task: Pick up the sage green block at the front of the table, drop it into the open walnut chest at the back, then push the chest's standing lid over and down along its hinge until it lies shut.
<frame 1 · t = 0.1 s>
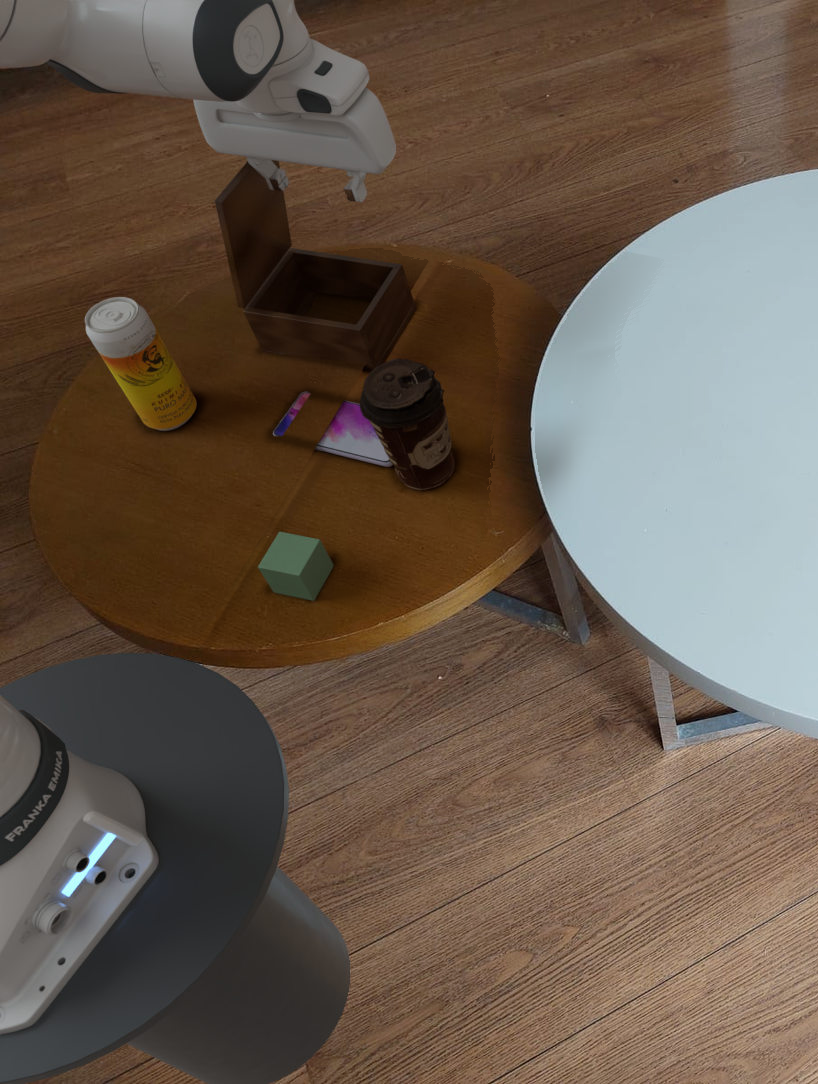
hand: (319, 193, 118), 19 cm above the table, tool pointing down, fingers open, 8 cm apart
lid: (256, 224, 122), point 15 cm above the table, hinge at 76.3°, touching gripper
coffee cup: (428, 469, 120), on the table
beer can: (172, 415, 126), on the table
block: (304, 579, 111), on the table
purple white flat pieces: (347, 432, 123), on the table
chest: (341, 331, 133), on the table
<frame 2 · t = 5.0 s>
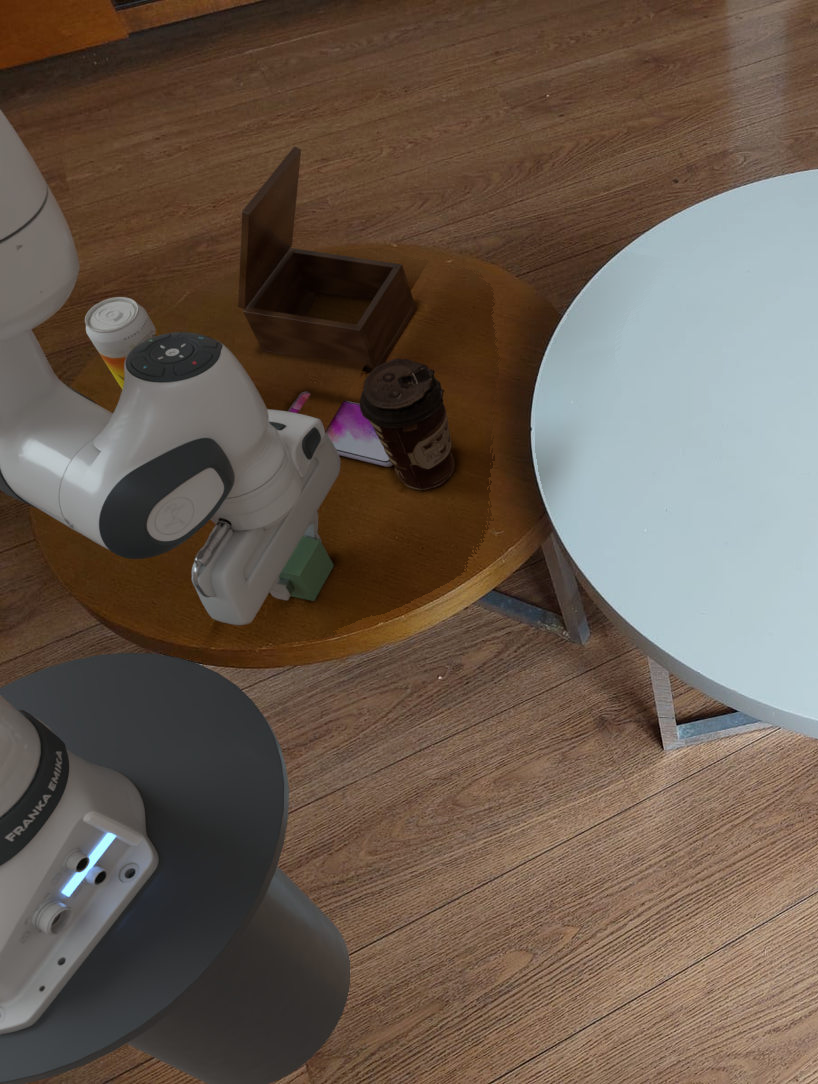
hand: (298, 569, 110), 2 cm above the table, tool pointing down, fingers closed on block, 4 cm apart
lid: (268, 229, 122), point 14 cm above the table, hinge at 65.5°
block: (304, 579, 111), on the table, touching gripper
everything else where it was.
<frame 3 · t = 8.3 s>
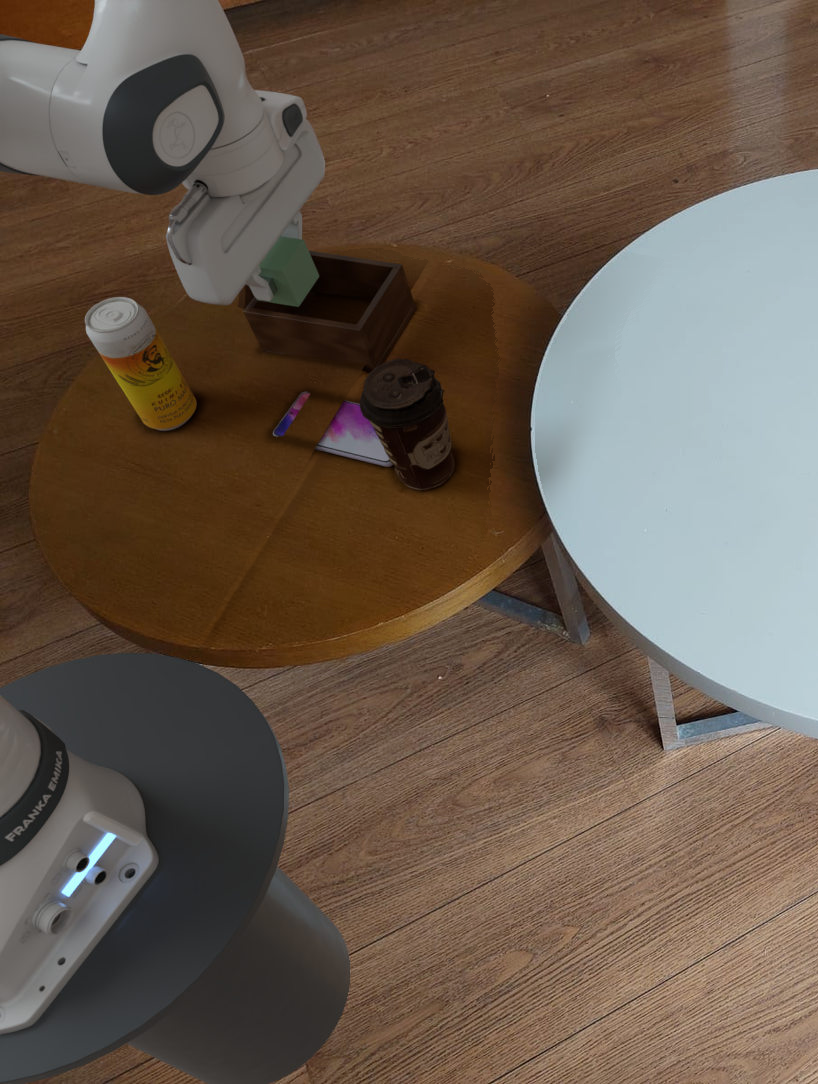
hand: (282, 275, 106), 22 cm above the table, tool pointing down, fingers closed on block, 4 cm apart
block: (288, 288, 107), point 20 cm above the table, touching gripper
everything else where it was.
when the fingers open (9 cm above the table, at t = 12.0 s): block drops 4 cm and tips over, resting on chest.
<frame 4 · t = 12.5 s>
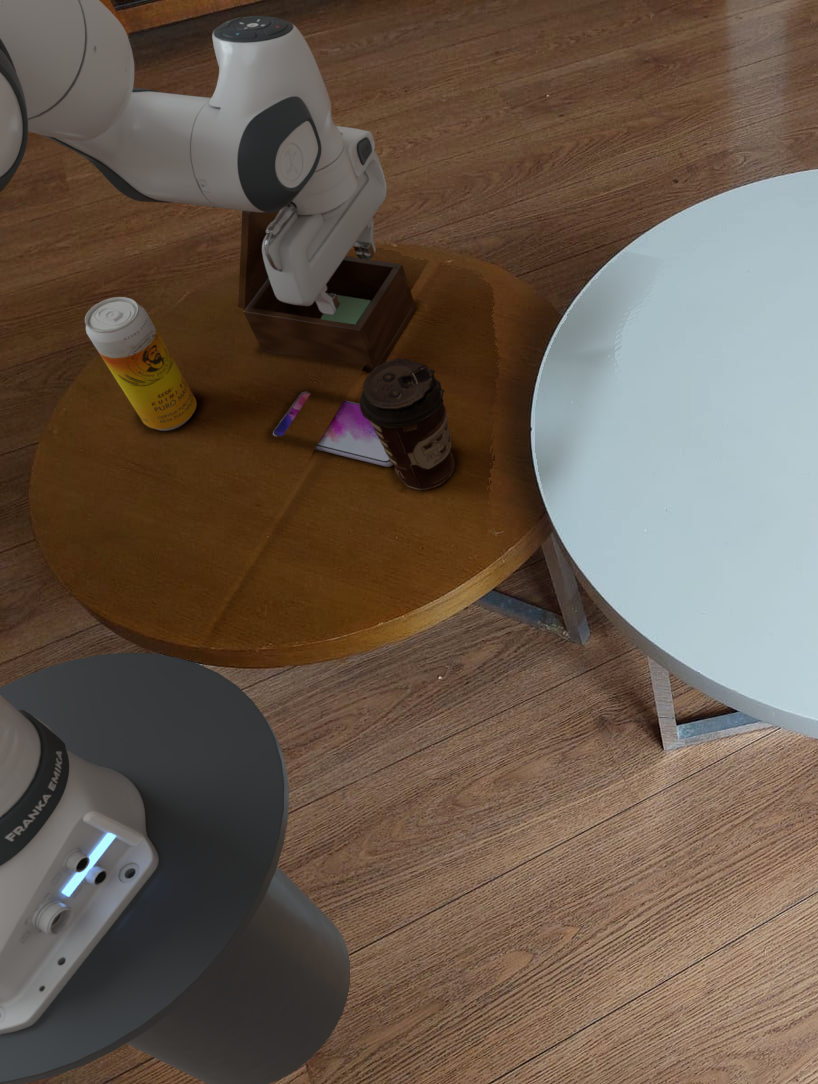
hand: (349, 282, 124), 10 cm above the table, tool pointing down, fingers open, 8 cm apart
block: (368, 327, 129), point 3 cm above the table, tilted 90°, touching chest
everything else where it was.
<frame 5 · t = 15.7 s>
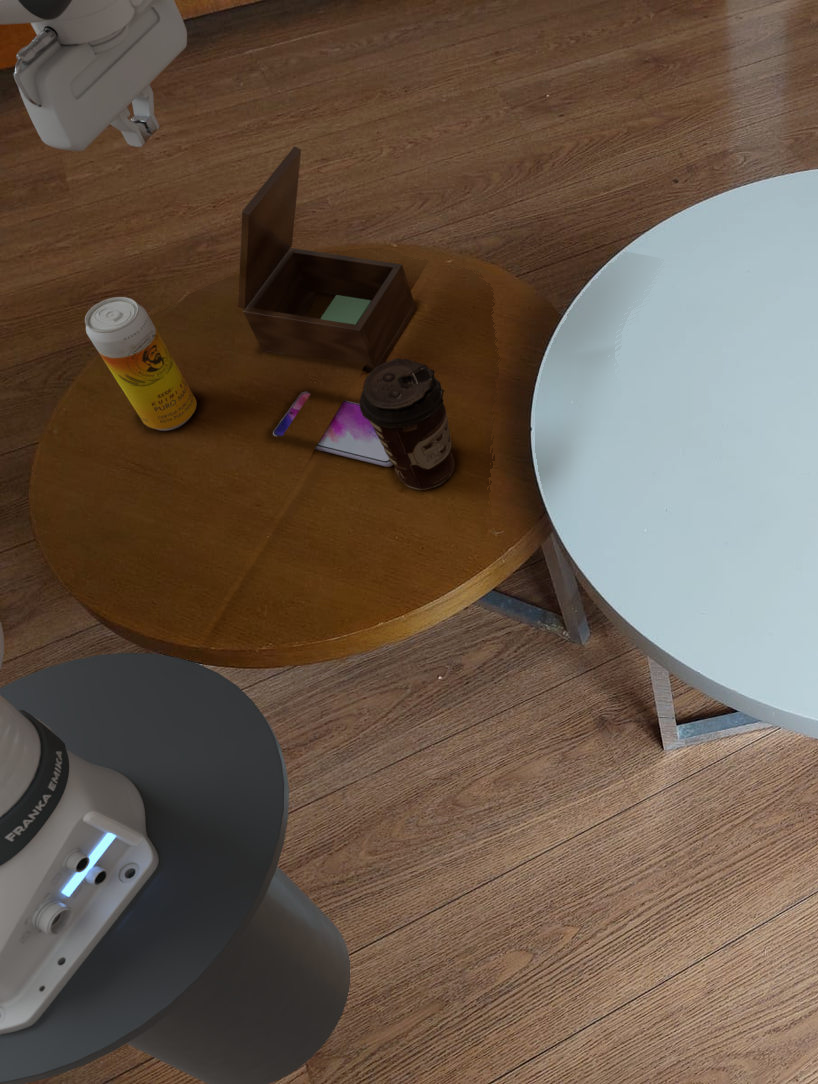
hand: (144, 137, 111), 27 cm above the table, tool pointing down, fingers closed
nothing on the table moved.
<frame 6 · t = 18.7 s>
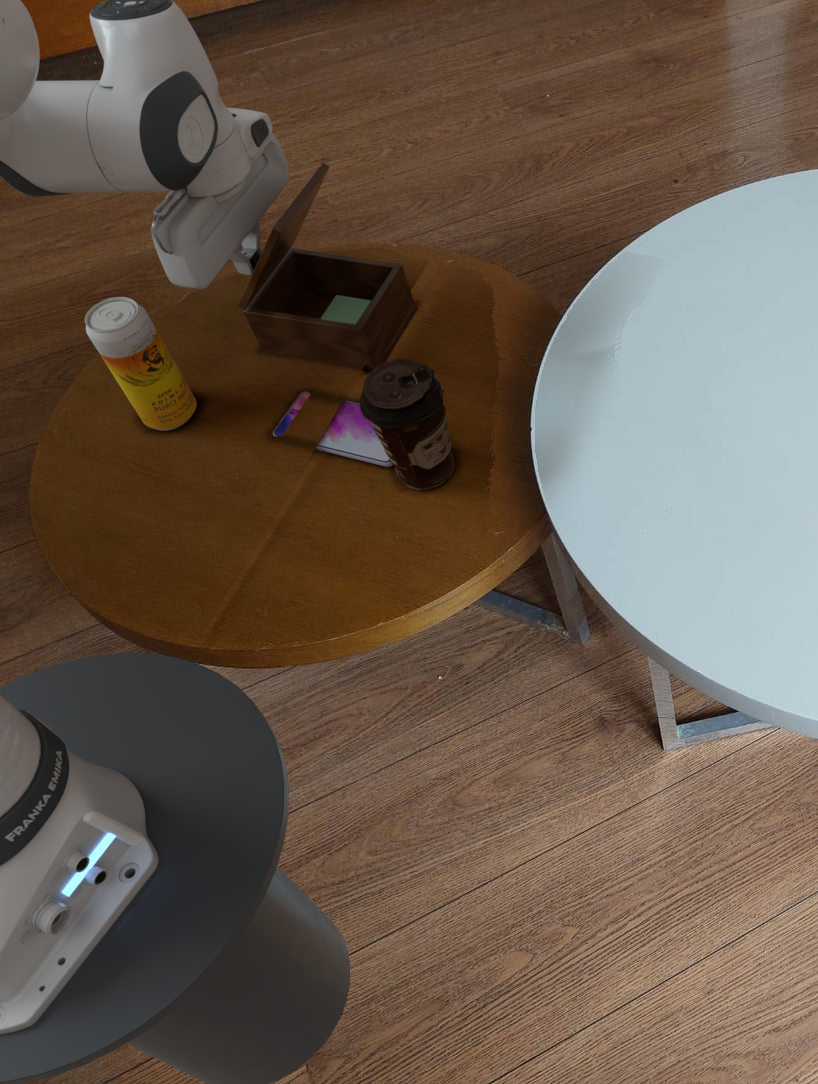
hand: (252, 266, 122), 12 cm above the table, tool pointing down, fingers closed, pressing on lid
lid: (283, 237, 123), point 13 cm above the table, hinge at 53.1°, touching gripper
everything else where it was.
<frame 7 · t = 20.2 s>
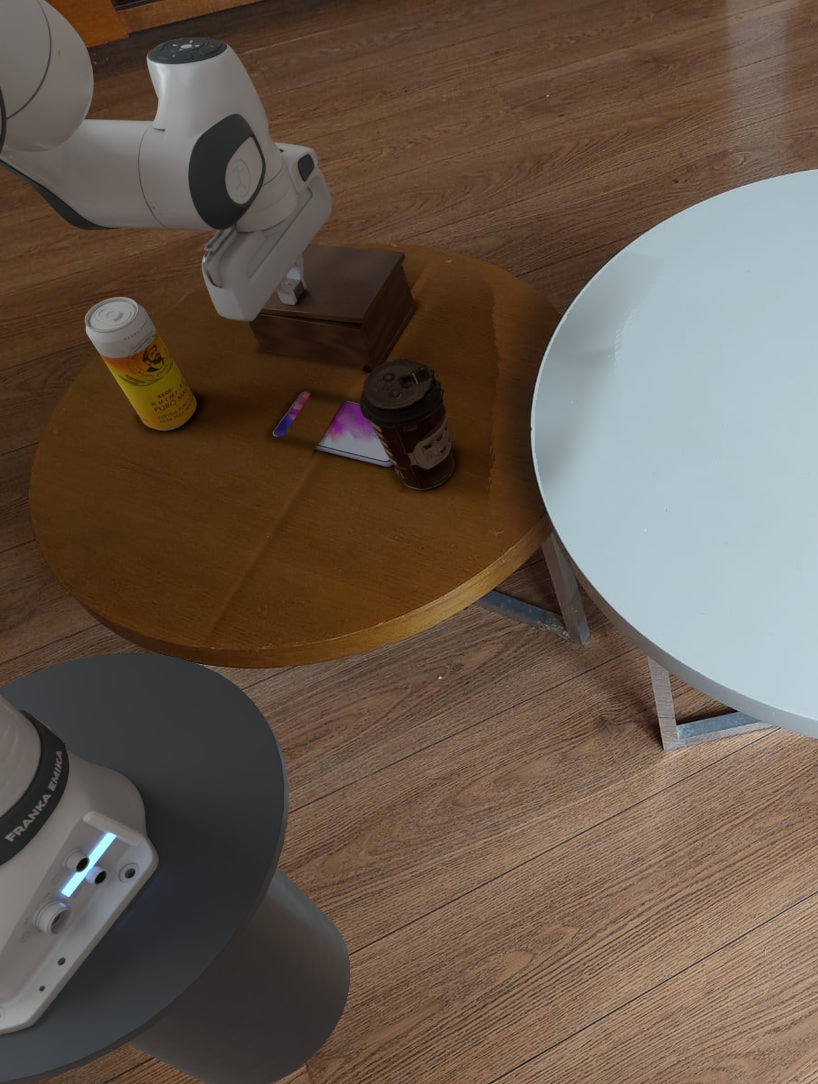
hand: (295, 296, 125), 8 cm above the table, tool pointing down, fingers closed, pressing on lid
lid: (324, 281, 127), point 8 cm above the table, hinge at 3.9°, touching gripper
everything else where it was.
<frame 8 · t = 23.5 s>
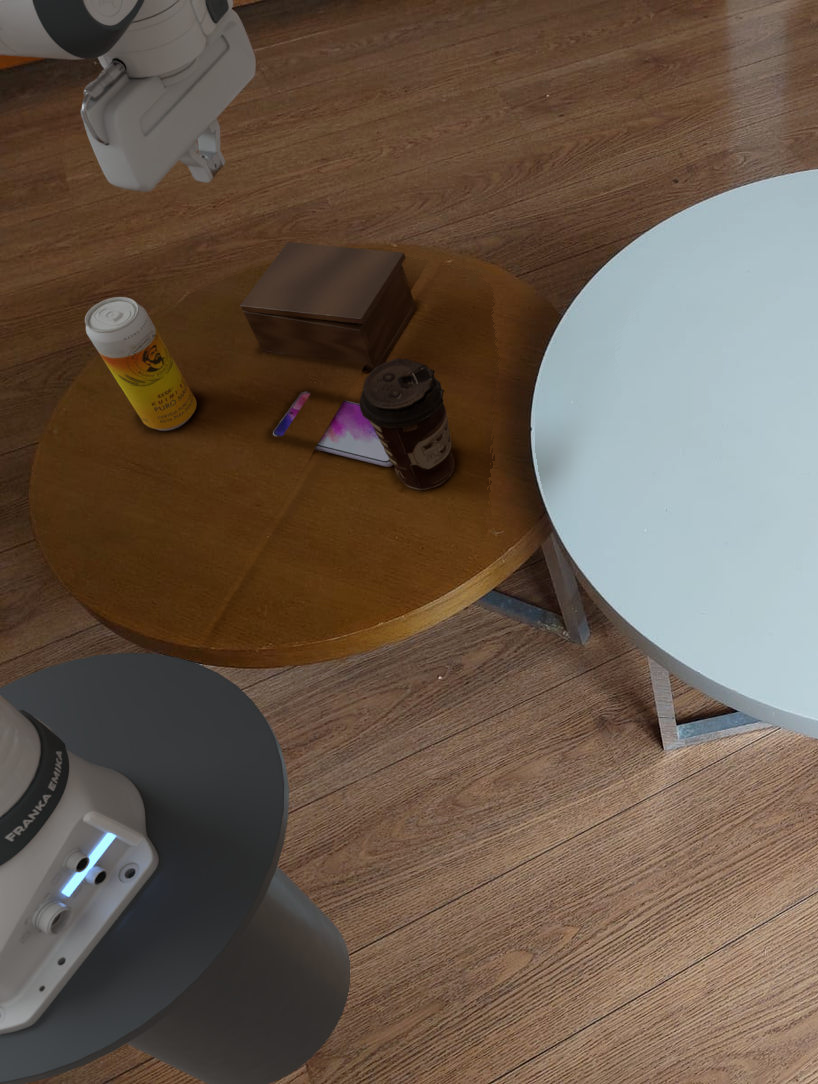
hand: (211, 173, 104), 29 cm above the table, tool pointing down, fingers closed
lid: (324, 281, 127), point 8 cm above the table, hinge at 3.7°
everything else where it was.
at the end: lid at +4° (first picture: +76°); block inside the target area in the chest (5.4 cm from its centre), point 3.0 cm above the chest's base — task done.
